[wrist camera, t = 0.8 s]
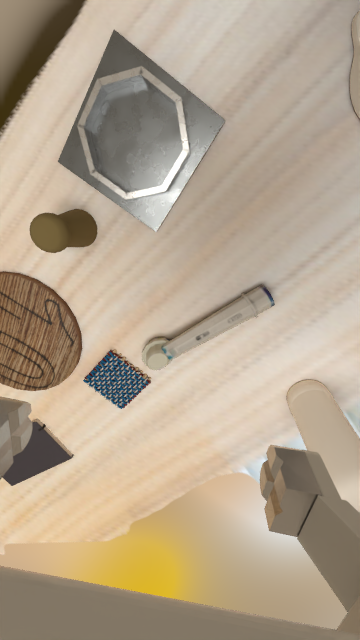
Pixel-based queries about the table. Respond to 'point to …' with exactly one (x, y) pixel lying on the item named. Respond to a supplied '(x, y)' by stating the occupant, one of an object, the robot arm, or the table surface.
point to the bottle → (328, 436)
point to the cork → (63, 230)
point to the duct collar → (138, 133)
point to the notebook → (37, 455)
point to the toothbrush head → (207, 328)
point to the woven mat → (117, 379)
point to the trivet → (35, 334)
